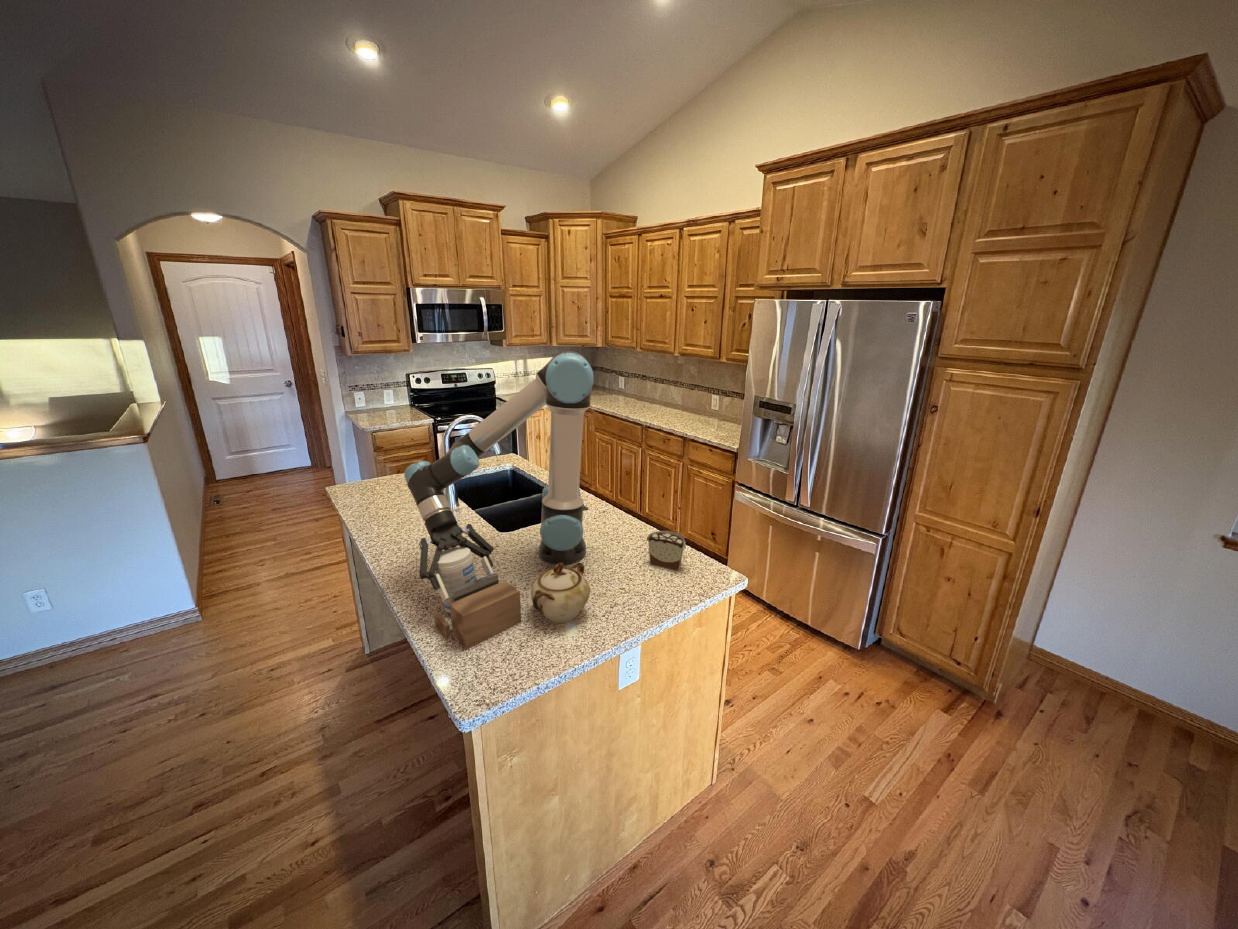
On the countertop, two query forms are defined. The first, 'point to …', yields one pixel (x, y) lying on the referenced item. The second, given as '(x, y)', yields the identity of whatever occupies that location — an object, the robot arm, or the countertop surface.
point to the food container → (666, 549)
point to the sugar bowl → (561, 592)
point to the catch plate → (474, 587)
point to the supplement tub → (455, 570)
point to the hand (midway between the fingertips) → (470, 590)
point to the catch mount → (482, 614)
